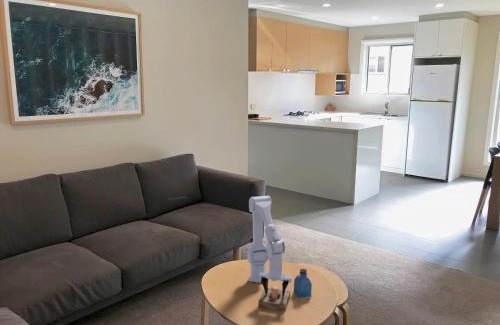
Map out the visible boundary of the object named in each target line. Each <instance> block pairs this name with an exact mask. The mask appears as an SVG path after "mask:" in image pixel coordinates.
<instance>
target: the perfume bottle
mask: <svg viewBox="0 0 500 325" xmlns="http://www.w3.org/2000/svg"><path fill="white" fill-rule="evenodd" d="M293 281H294V282H293V292H294V294H295V296H297V298H298V299H302V298H308V297H312V282H311V280H310V278H309V277H308V271H307V269H306V268H300V270H299V275H296V276H295V278H294V280H293Z"/></svg>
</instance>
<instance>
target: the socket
mask: <svg viewBox="0 0 500 325" xmlns="http://www.w3.org/2000/svg"><path fill="white" fill-rule="evenodd" d="M290 298H291V291H288V290H285V294H284V297H282V289H278V299H272V298H271V288H269V287H268V293H267V294H265V290H264V289H263V290H262V293H261V295H260V297H259V299H258V308H263V309H269V310H275V311H281V312H286V311H287V307H288V305H289V302H290Z"/></svg>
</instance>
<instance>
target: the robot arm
mask: <svg viewBox="0 0 500 325" xmlns="http://www.w3.org/2000/svg"><path fill="white" fill-rule="evenodd" d="M272 202H273V201H272V198H271V196H270V195H263V196H250V198H249V199H248V209H249V212H250V213H251V214H252V244H250V245H249V246H248V247H247V253H246V258H247V262H248V263H249V264H250V273H249V274H250V276H249V278H248V280H247V281H248V282H252V283H258V284H262V287H263V288H264V289H263V291H264V290H265V294H267V293H268V288H269V280H270V281H271V282H276V281H280V282H281V281H282V283H281V285H282V286H281V287H282V289H281V290H282V297H284V294H285V291H287V290H286V289H287V288H288V286H289V284H291V283H292V279H293V278H292V276H288V275H287V274H283V272H282V271H283V254H284V253H285V252H286V251H285V250H286V247H285V246H286V245H285V242H284V240H283V239H282V237H280V234H279V231H278V228H277V226H276V225H274V223H273V218H272V213H271V209H272ZM263 223H264V225H265V228H264V229H263ZM263 230H264V231H263ZM263 232H264V233H263ZM263 234H265V237H266V240H267V241H266V242H267V245H266V244H264V235H263ZM268 260H269V261H268ZM267 262H268V272H267V268H266V267H267Z"/></svg>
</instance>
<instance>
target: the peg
mask: <svg viewBox="0 0 500 325" xmlns="http://www.w3.org/2000/svg"><path fill="white" fill-rule="evenodd" d="M270 289H271V298H272V299H278V290H279V287H278V286H274V285H273V286H271V288H270Z"/></svg>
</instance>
